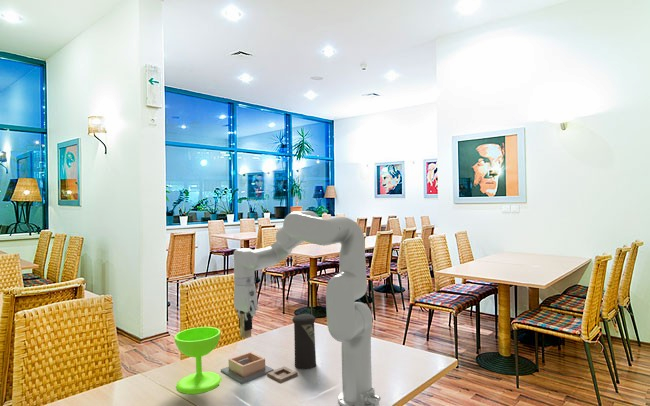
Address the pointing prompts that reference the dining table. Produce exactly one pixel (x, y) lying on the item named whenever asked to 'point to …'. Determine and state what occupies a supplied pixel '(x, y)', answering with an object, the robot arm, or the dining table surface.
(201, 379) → the wineglass
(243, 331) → the tan wooden bar
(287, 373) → the brown square tray
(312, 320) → the container
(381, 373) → the dining table surface
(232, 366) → the grey base square tray
